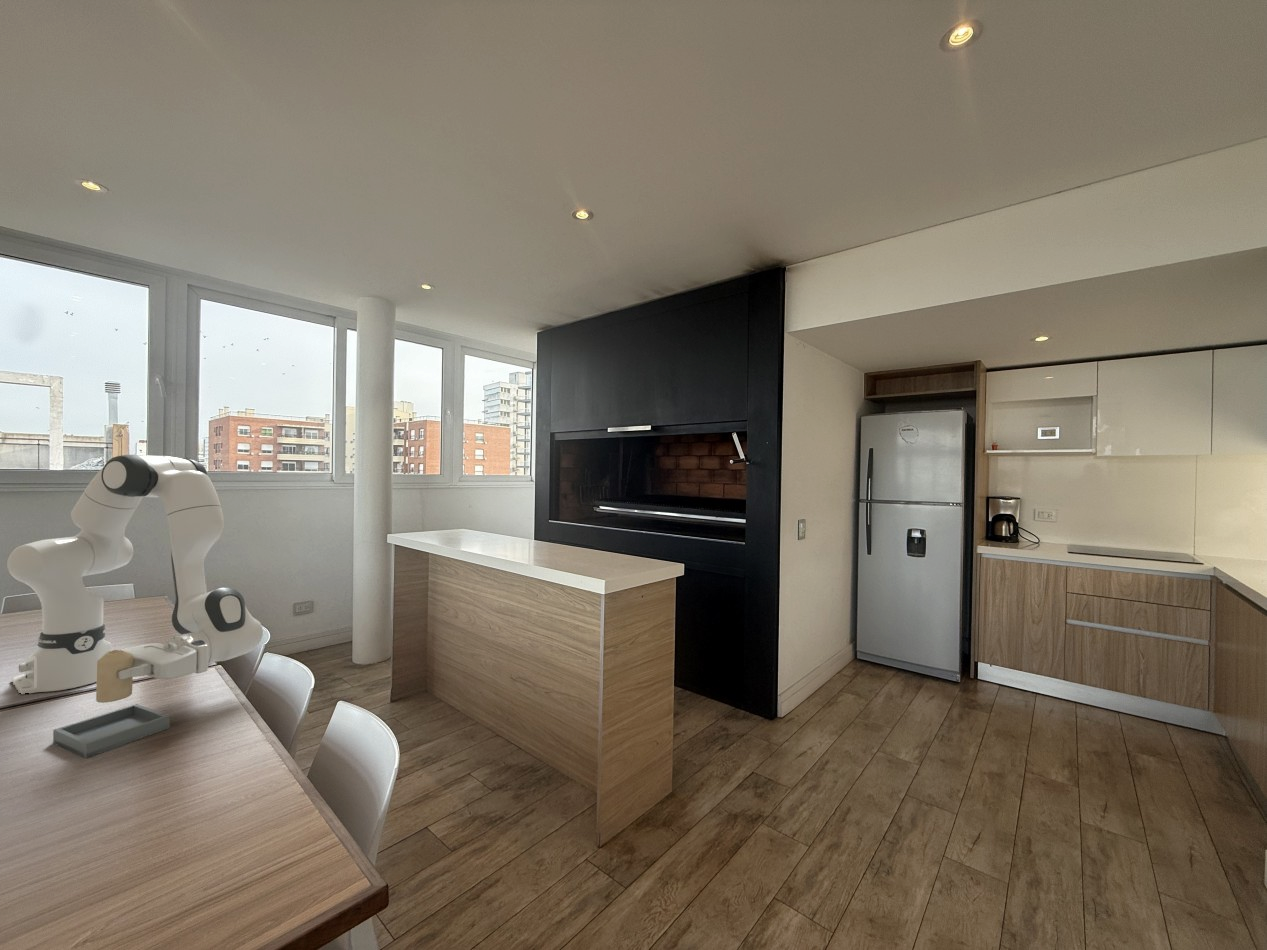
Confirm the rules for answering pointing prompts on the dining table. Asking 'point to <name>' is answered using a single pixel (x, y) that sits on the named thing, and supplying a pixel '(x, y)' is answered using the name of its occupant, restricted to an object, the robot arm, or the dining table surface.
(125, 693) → the candle
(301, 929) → the dining table surface
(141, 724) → the serving tray
